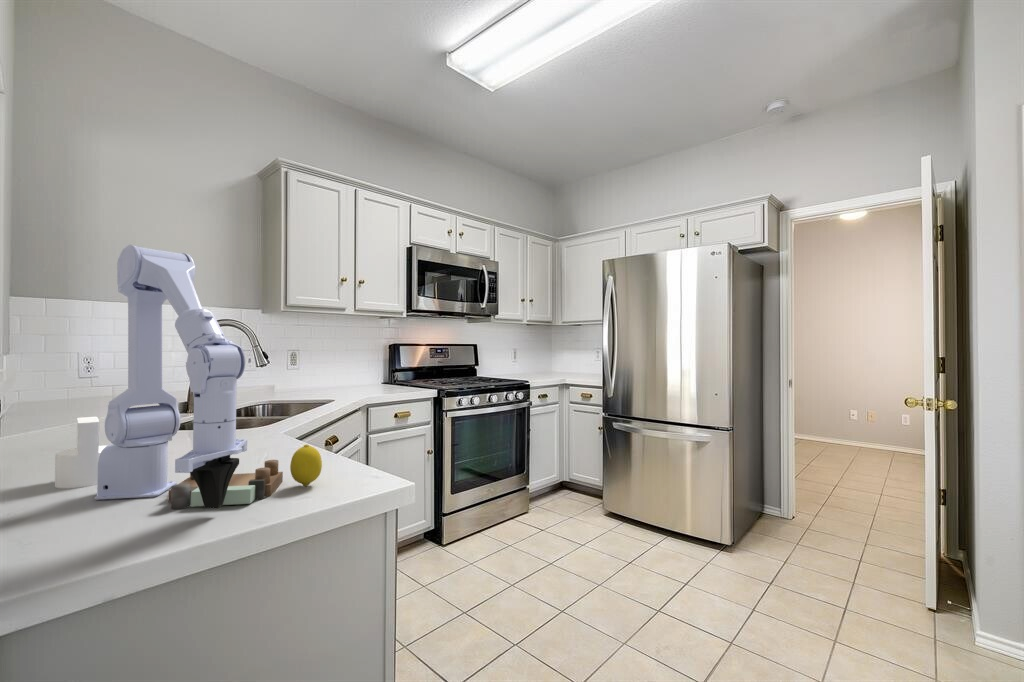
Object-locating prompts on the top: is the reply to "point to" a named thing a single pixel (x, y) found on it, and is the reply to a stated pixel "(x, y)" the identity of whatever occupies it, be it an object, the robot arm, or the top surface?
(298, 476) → the lemon
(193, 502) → the pale green bar
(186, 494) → the stool seat
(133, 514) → the top surface
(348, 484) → the top surface
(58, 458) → the base with upright slab
